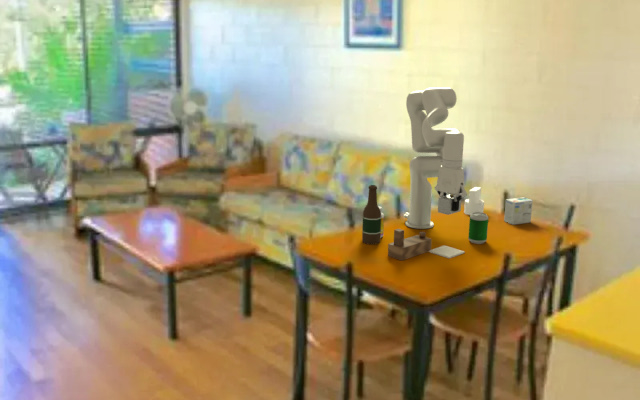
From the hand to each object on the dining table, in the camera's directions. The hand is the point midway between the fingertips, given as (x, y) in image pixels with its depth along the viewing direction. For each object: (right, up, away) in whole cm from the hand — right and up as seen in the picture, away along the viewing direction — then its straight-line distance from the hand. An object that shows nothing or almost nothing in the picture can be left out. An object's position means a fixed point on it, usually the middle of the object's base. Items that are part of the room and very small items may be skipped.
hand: (449, 208), depth 263 cm
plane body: (-15, -18, +3) cm, 23 cm away
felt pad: (0, -17, +5) cm, 18 cm away
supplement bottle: (-27, -12, +24) cm, 38 cm away
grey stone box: (0, -1, 0) cm, 1 cm away
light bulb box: (+41, -7, +48) cm, 63 cm away
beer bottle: (-29, -14, +17) cm, 37 cm away
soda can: (+15, -14, +18) cm, 28 cm away
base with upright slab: (+23, -3, +61) cm, 66 cm away
